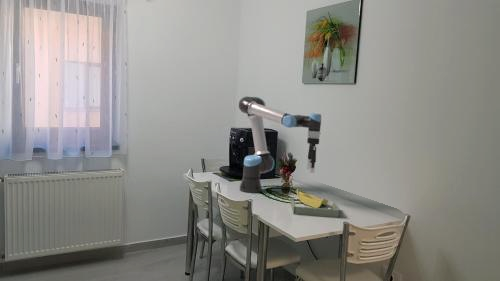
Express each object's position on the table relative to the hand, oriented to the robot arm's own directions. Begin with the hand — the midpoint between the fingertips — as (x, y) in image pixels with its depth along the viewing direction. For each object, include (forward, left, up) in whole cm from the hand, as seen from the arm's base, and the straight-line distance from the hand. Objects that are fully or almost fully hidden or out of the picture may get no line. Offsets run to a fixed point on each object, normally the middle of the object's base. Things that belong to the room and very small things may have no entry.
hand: (310, 170), depth 242 cm
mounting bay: (+29, 0, -18) cm, 34 cm away
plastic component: (+12, 0, -19) cm, 22 cm away
